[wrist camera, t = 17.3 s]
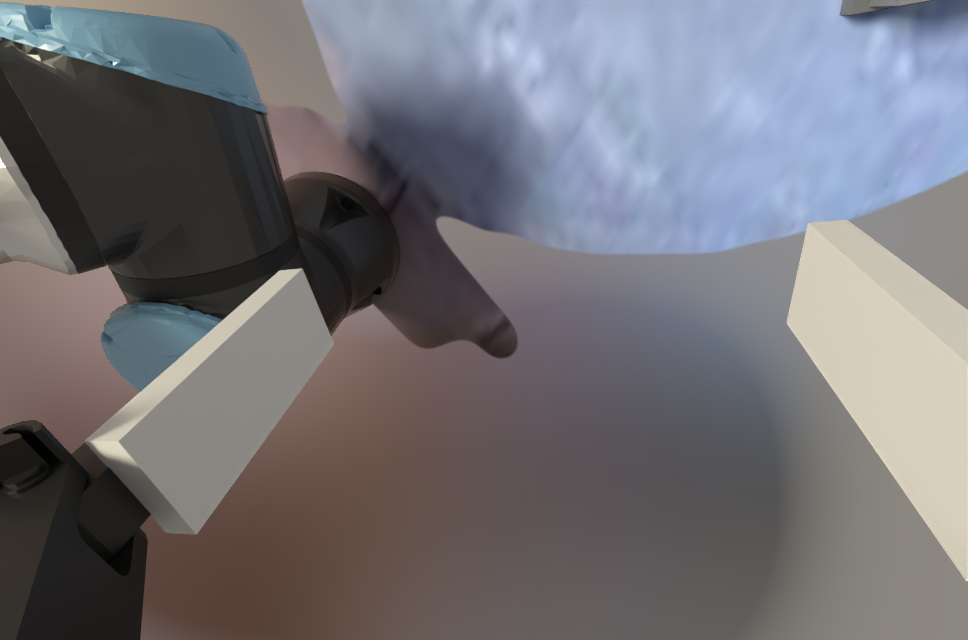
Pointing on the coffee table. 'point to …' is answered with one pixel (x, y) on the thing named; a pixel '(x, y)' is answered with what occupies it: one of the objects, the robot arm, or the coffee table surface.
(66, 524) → the robot arm
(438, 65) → the coffee table surface
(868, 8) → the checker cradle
